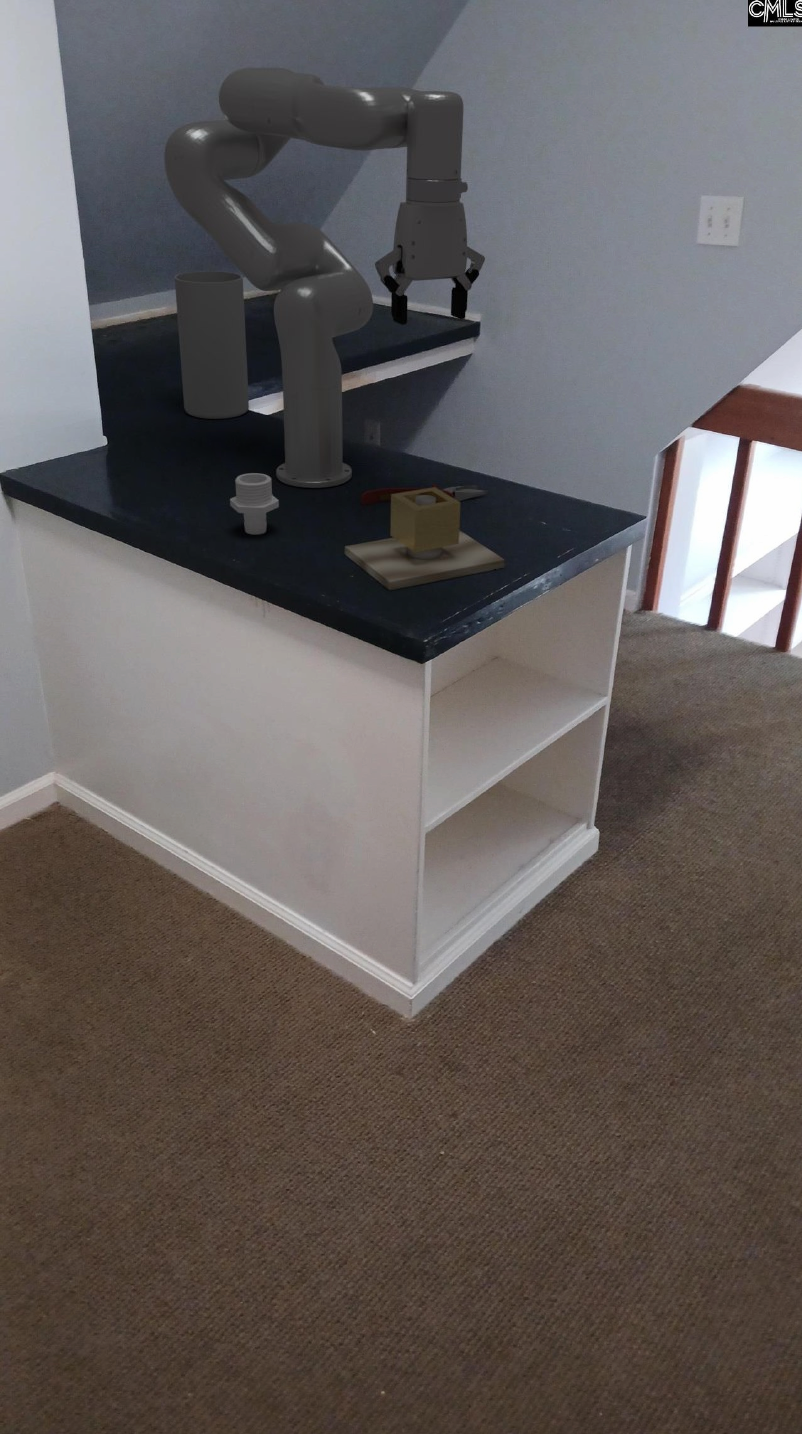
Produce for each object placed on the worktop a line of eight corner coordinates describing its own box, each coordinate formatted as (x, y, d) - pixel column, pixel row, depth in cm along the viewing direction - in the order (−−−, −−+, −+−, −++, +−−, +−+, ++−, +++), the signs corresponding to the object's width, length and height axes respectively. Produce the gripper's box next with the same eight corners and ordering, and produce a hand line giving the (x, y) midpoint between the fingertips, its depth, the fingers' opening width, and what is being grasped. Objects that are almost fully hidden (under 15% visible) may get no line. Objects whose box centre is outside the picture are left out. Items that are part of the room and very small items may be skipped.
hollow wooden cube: (390, 535, 164) (391, 494, 161) (433, 527, 167) (435, 487, 164) (414, 552, 159) (415, 510, 156) (458, 544, 162) (460, 502, 159)
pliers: (503, 506, 186) (504, 491, 185) (394, 528, 177) (395, 512, 175) (463, 486, 194) (463, 471, 193) (357, 506, 185) (357, 490, 184)
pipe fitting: (266, 519, 178) (264, 468, 174) (284, 535, 172) (282, 483, 168) (227, 526, 175) (224, 474, 171) (244, 542, 170) (241, 489, 166)
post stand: (344, 554, 166) (344, 492, 162) (454, 534, 174) (456, 474, 169) (389, 590, 156) (390, 525, 151) (504, 567, 163) (508, 504, 158)
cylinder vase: (256, 416, 226) (250, 281, 214) (193, 422, 222) (183, 284, 209) (239, 400, 236) (232, 269, 223) (178, 405, 232) (167, 272, 219)
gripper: (472, 187, 168) (467, 311, 177) (365, 191, 161) (364, 320, 170) (500, 193, 162) (493, 320, 171) (389, 197, 155) (388, 330, 164)
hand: (429, 320), depth 170 cm, fingers open, 9 cm apart
